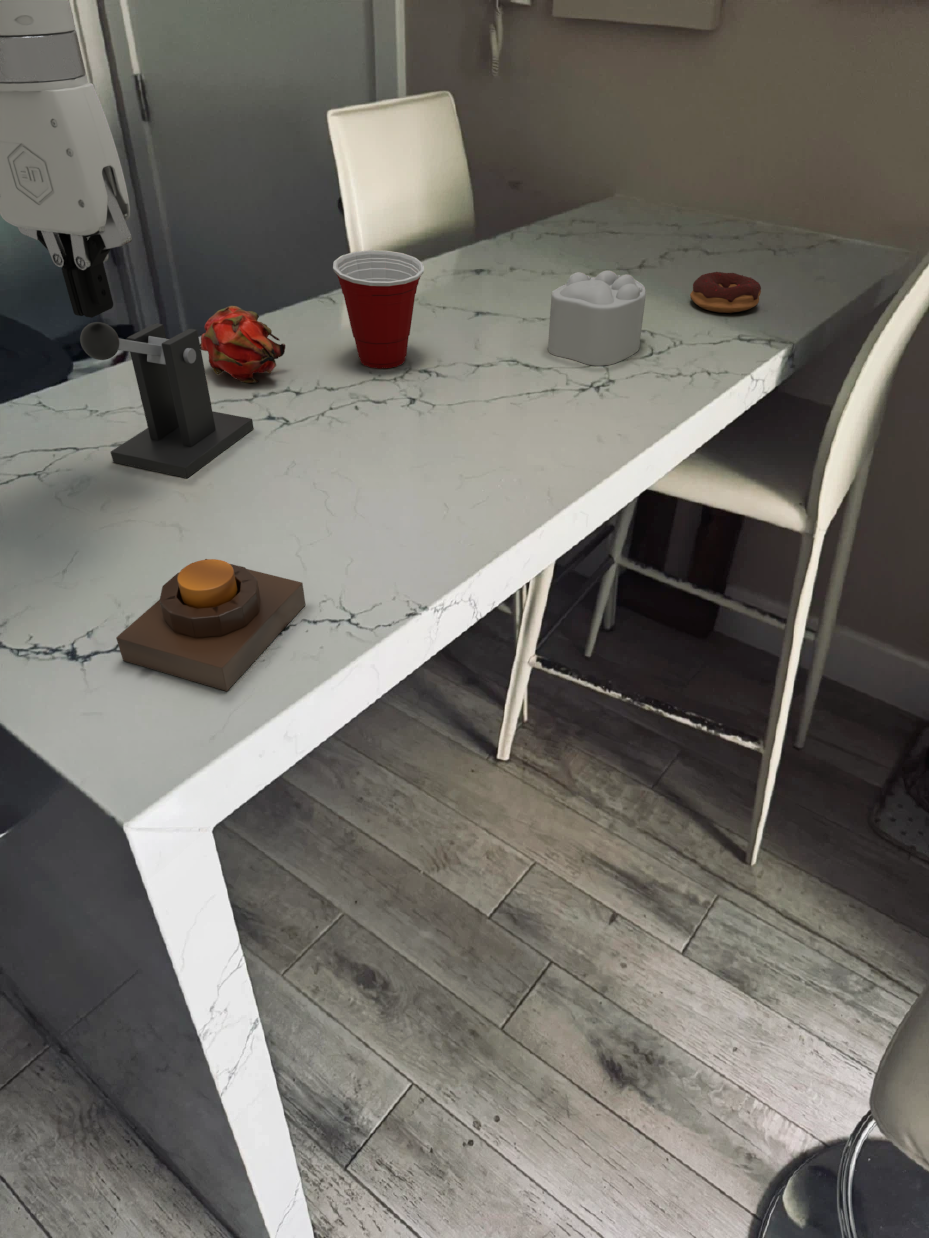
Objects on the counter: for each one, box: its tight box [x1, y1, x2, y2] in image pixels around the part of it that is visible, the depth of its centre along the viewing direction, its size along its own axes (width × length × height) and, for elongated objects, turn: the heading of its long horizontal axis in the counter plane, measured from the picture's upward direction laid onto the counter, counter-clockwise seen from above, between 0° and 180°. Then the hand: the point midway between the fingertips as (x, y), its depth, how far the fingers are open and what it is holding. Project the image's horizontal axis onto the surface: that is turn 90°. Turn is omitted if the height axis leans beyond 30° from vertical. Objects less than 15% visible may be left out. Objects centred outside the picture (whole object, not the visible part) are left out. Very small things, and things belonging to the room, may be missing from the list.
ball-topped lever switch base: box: [110, 322, 255, 479], centre depth 88 cm, size 12×9×12 cm
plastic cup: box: [332, 249, 425, 370], centre depth 106 cm, size 11×11×12 cm
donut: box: [689, 271, 762, 314], centre depth 126 cm, size 10×10×4 cm
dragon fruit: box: [200, 305, 286, 384], centre depth 104 cm, size 8×8×12 cm
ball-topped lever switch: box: [79, 321, 170, 365], centre depth 81 cm, size 12×3×3 cm, turn 157°
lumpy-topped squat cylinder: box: [547, 269, 647, 367], centre depth 112 cm, size 10×13×9 cm
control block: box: [115, 558, 306, 692], centre depth 65 cm, size 11×9×4 cm
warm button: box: [177, 558, 237, 609], centre depth 64 cm, size 4×4×2 cm
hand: (94, 311), depth 76 cm, fingers closed
